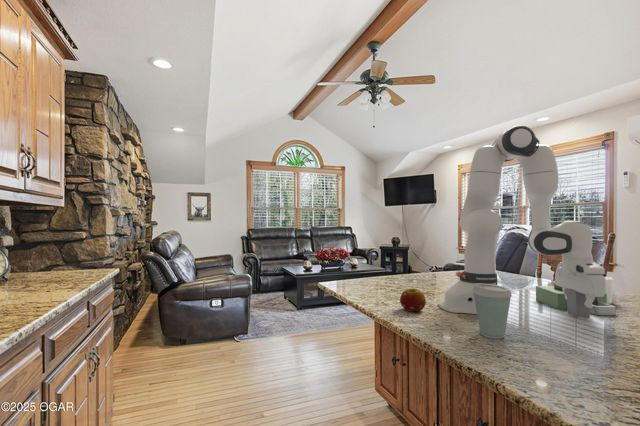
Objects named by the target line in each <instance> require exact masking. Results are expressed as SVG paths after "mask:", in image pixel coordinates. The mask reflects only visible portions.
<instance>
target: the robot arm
mask: <svg viewBox="0 0 640 426" xmlns="http://www.w3.org/2000/svg"><path fill="white" fill-rule="evenodd" d="M515 159H516V160H517V161H518V163H519V164H520V167H521V168H522V169H521V170H522V180H523V185H524V188H525V192H526V195H527V196H526V197H527V199H528V201H529V202H528V203H529V206H530V217H531V220H530V221H531V228H530V229H531V230H530V232H529V235H528V238H527V243H528V246H529V247H528V248H530V250H532V251H533V252H535V253H536V254H540V255H543V256H548V257H549V256H550V257H551V256H558V255H561V262H559V263H558V264H557V266H556V268H555V276H554V283H555V284H556V285H557V286H560V287H562V289H563V292H564V294H565V300H567V289H570V290H574V291H577V292H579V293H583V294H586V298H587V299H586V302H584V306H585V307H587V308H592V303H593V301H594V299H595V297H603V296H604V295H605V278H604V277H605V276H604V275H605V274H606V269H605V267H603V266H602V265H600V264H599V263H597V262H596V261H594V257H593V254H592V249H593V246H594V245H593V233H592V230H591V229H592V228H591V226H590V225H589V224H587V222H582V221H577V220H564V221H563V222H561V223H560V224H558V225H554V226H552V222H551V212H550V211H551V210H550V205H551V203H552V200H553V197H554V196H555V194H556V193H557V191H558V187H559V171H558V165H557V159H556V155H555V153H554V150H553V149H552V147H551V146H549V145H547V144H540V139H538V138H537V137H536V134H535V133H534V131H533V130H532V129H531V128H530V127H528V126H525V125H515V126H513V127H510V128H509V129H507V130H506V131H504V132H503V133H502V134H500V135H499V136H498V138H496V140H495V141H493V143H492V145H484V146H481V147H478V148H477V149H476V150H475V152H474V154H473V158H472V161H471V164H470V168H469V169H470V171H469V179H468V183H467V184H468V185H467V192H466V196H465V200H464V203H463V207H462V211H461V215H460V217H459V227H460V229H461V230H462V231H463V232H464V233H465V234H467V238H466V239H467V240H466V245H465V249H464V252H463V253H464V260H463V262H464V263H463V264H464V270H463V271H462V272H460V271H458V270H456V271H455V272H454V273H455V276H456V277H459V280H458V281H457V282H456V283H453V285H451V286H450V287H449V288H447V289H446V290H445V293H444V300H439V301H438V306H439V307H440V309H442V310H444V311H446V312H449V313H458V314H471V315H472V314H473V315H477V311H476V305H475V299H474V293H473V292H472V291H473V287H475V284H476V283H484V284H492V285H498V280H499V279H498V273H497V272H496V271H497V269H496V268H497V264H496V260H497V259H496V254H497V246H498V242H499V235H500V232H501V230H502V228H503V225H504V224H503V223H504V222H503V219H502V216H501V215H500V214H499V213H498V212H496V211H494V210H493V209H494V206H495V203H496V200H497V198H498V197H499V194H500V186H501V180H502V179H501V178H502V170H503V169H502V167H503V165H504V162H505V163H506V162H509V161H513V160H515Z"/></svg>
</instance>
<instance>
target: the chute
mask: <svg viewBox="0 0 640 426" xmlns="http://www.w3.org/2000/svg"><path fill="white" fill-rule="evenodd" d="M586 299H587V298H586V294H583V293H579V292H577V291H574V290H570V289H567V309H566V311H567V314H568V315H570V316H572V315H573V316H572V317H575V318H590V314H591V313H590V309H589V308H587V307H585V306H584V302H586Z"/></svg>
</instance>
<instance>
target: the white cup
mask: <svg viewBox="0 0 640 426" xmlns="http://www.w3.org/2000/svg"><path fill="white" fill-rule="evenodd" d="M604 278H605V294H607V304H609V305H611V304H612V303H613V295H614V294H613V293H614V279H613V278H612V277H606V276H604Z"/></svg>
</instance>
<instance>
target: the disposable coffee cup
mask: <svg viewBox="0 0 640 426" xmlns="http://www.w3.org/2000/svg"><path fill="white" fill-rule="evenodd" d="M472 292H473V293H474V299H475V305H476V311H477V314H476V315H477V322H478V323H477V324H478V328H479V332H480V335H482V337H486V338H488V339H496V340H499V339H503V338H504V336H505V335H506V331H507V330H506V329H507V324H508V323H507V322H508V316H509V311H510V310H509V309H510V304H511V297H512V292H511V290H510V289H509V288H507V287H505V286H503V285H502V286H501V285H499V284H497V285H492V284H484V283H476V284H475V287H473V291H472Z"/></svg>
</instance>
